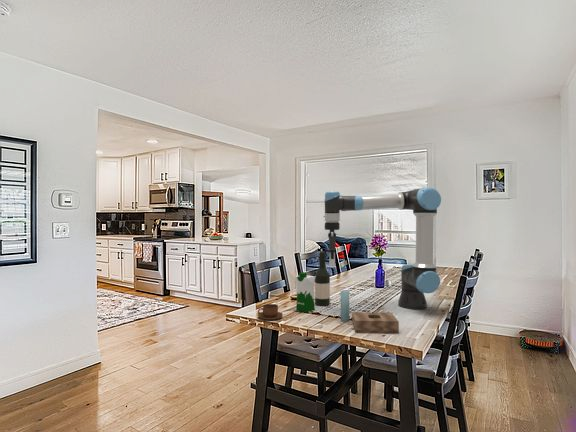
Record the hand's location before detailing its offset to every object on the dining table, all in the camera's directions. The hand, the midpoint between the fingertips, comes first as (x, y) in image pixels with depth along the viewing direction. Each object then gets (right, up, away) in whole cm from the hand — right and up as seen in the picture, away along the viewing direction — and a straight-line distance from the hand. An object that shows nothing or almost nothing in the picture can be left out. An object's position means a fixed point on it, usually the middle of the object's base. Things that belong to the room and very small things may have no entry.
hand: (332, 264), depth 187 cm
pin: (+5, -25, -12) cm, 28 cm away
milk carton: (-13, -26, +7) cm, 30 cm away
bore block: (+16, -25, -24) cm, 38 cm away
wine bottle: (-3, -26, +20) cm, 33 cm away
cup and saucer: (-31, -26, -7) cm, 41 cm away
